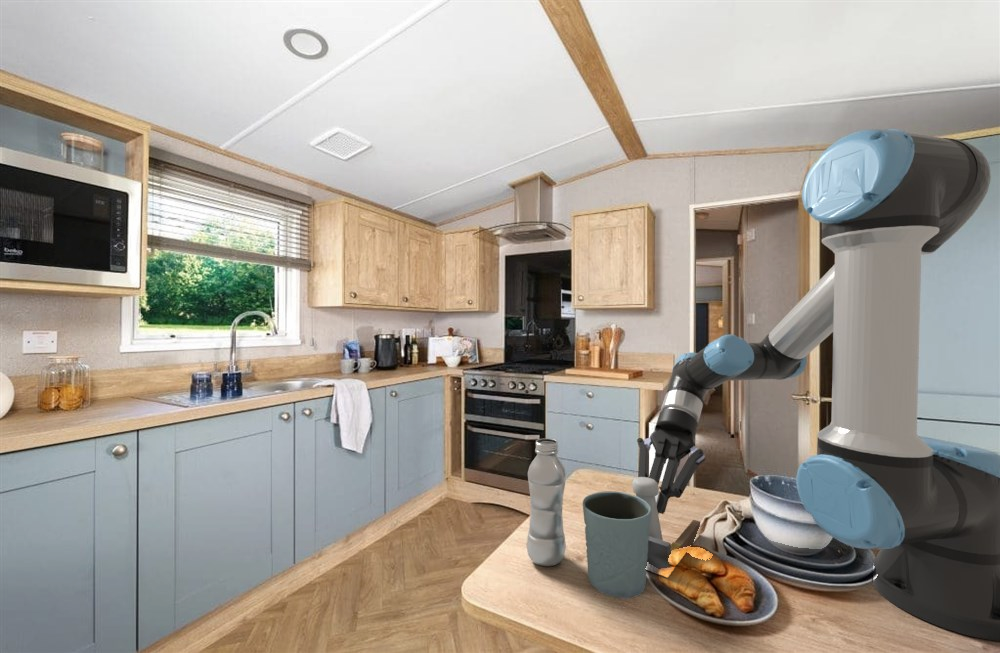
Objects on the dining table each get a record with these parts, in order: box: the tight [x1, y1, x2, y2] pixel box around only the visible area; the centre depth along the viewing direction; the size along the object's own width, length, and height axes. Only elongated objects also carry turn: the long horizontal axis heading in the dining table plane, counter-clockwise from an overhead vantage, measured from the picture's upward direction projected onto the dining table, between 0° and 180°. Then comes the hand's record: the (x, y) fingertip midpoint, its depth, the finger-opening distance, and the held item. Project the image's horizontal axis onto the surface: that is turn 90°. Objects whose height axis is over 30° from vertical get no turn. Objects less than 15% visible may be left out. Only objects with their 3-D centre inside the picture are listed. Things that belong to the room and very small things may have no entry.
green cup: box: [582, 490, 651, 599], centre depth 65 cm, size 10×10×12 cm
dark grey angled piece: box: [647, 519, 701, 569], centre depth 76 cm, size 11×18×5 cm, turn 140°
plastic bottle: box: [526, 438, 567, 567], centre depth 70 cm, size 6×7×20 cm
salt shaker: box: [631, 476, 664, 541], centre depth 72 cm, size 6×6×13 cm
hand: (647, 527), depth 74 cm, fingers closed
